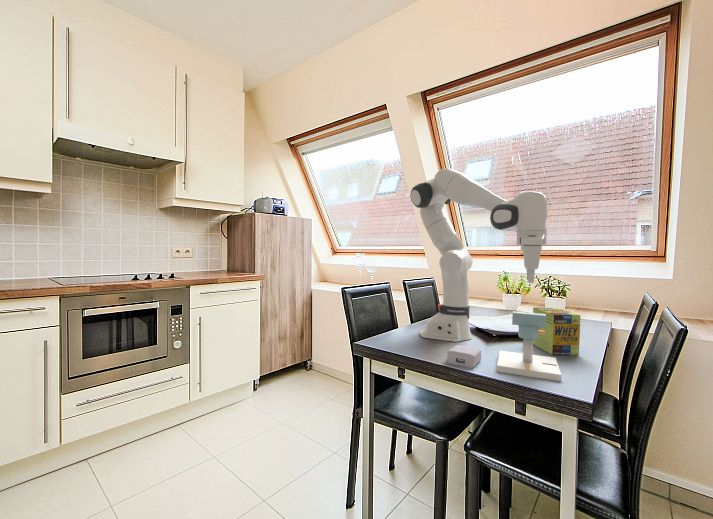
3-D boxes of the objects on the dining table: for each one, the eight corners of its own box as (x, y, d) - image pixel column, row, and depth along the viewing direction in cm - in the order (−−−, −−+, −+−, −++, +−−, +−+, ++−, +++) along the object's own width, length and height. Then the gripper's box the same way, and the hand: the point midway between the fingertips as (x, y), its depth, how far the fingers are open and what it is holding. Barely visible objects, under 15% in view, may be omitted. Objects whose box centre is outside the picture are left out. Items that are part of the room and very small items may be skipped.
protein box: (552, 355, 130) (553, 314, 129) (531, 343, 145) (532, 307, 145) (580, 355, 130) (581, 314, 129) (556, 344, 145) (557, 307, 145)
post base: (497, 371, 112) (497, 341, 112) (499, 355, 128) (500, 329, 128) (561, 381, 104) (562, 348, 104) (555, 363, 121) (556, 335, 120)
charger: (485, 357, 127) (474, 369, 115) (460, 352, 132) (447, 363, 120) (485, 344, 127) (474, 354, 115) (460, 340, 132) (447, 350, 120)
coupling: (511, 337, 115) (512, 313, 115) (512, 333, 121) (512, 310, 120) (545, 341, 111) (546, 316, 111) (544, 336, 116) (545, 313, 116)
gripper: (520, 240, 125) (519, 278, 126) (521, 239, 107) (519, 283, 107) (540, 240, 123) (539, 279, 123) (544, 239, 104) (542, 284, 105)
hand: (530, 281), depth 115 cm, fingers open, 8 cm apart
